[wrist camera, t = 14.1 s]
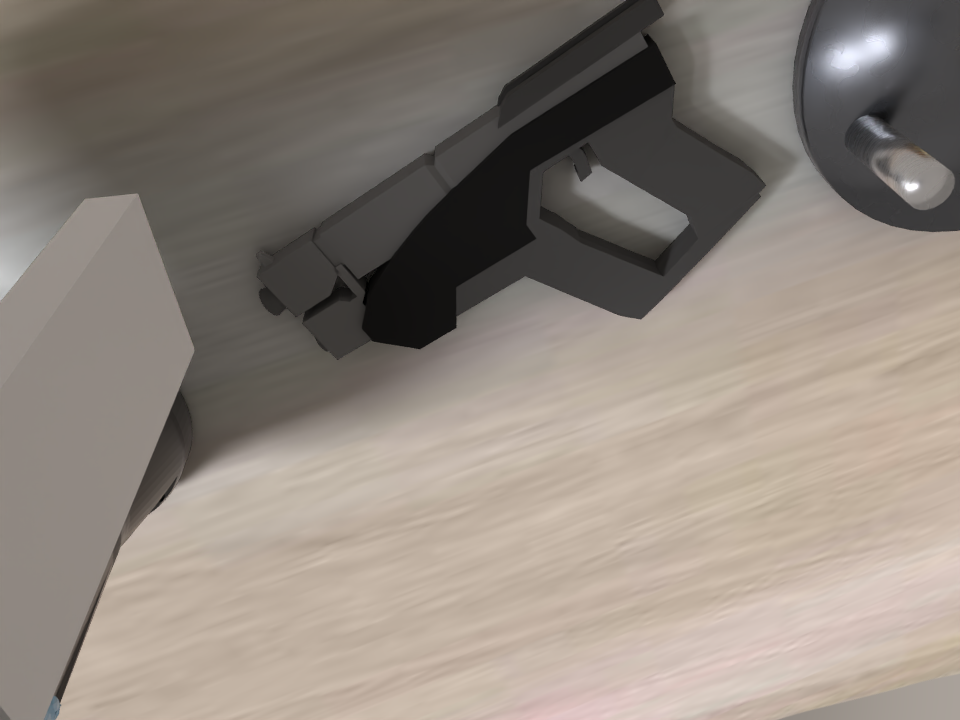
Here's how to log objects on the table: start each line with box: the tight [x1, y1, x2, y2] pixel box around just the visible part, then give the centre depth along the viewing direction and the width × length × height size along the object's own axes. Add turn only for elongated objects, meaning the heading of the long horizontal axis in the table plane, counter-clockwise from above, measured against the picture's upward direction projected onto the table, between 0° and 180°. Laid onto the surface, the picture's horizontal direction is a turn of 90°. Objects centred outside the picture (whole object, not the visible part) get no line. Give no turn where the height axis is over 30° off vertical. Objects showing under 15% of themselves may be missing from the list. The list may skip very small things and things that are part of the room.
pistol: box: [256, 0, 766, 360], centre depth 44 cm, size 2×26×15 cm
